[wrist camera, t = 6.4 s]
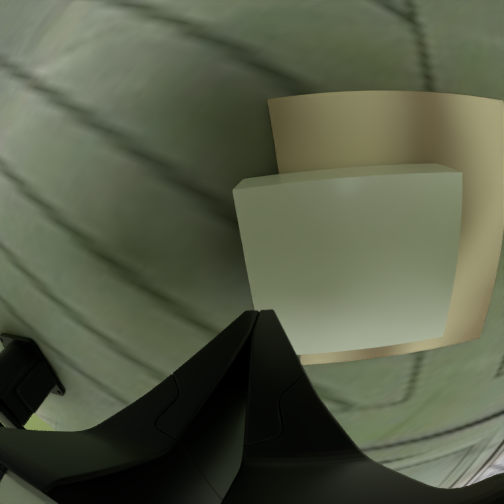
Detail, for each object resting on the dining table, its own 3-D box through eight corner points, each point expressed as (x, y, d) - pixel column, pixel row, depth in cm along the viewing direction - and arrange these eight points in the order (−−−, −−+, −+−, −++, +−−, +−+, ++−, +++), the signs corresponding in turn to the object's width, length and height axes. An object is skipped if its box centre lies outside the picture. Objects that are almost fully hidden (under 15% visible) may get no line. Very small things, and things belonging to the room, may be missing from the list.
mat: (301, 361, 16) (300, 365, 15) (267, 99, 11) (267, 99, 10) (477, 335, 13) (479, 338, 13) (499, 100, 9) (503, 100, 8)
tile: (263, 356, 12) (442, 336, 11) (232, 190, 10) (462, 172, 8) (268, 323, 14) (426, 306, 13) (244, 178, 12) (434, 162, 10)
